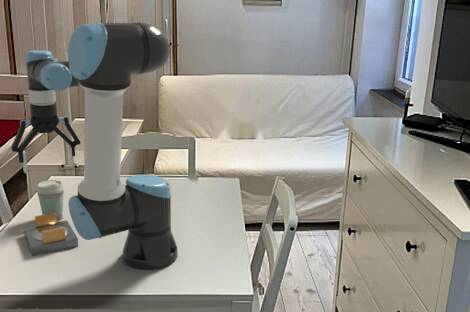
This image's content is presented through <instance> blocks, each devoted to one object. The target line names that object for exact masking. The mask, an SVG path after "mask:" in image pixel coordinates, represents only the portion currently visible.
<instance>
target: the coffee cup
mask: <svg viewBox="0 0 470 312" xmlns="http://www.w3.org/2000/svg"><path fill="white" fill-rule="evenodd" d="M64 190H65V185H64V183H63V181H61V180H57V179H48V180H43V181H40V182H39V183H37V187H36V193H37V197H38V201H39V204H40V210H41V215H45V214H51V213H56V216H57V222H60V221H61V220H62V219H63V215H64V214H63V213H64V192H65V191H64Z"/></svg>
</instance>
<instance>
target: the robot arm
mask: <svg viewBox="0 0 470 312" xmlns="http://www.w3.org/2000/svg"><path fill="white" fill-rule="evenodd" d="M170 52H171V47H170V44H169V41H168V38H167V37H166V35H165V34H164V32H162V31H161V29H159V28H157V27H156V26H154V25H152V24H150V23H145V22H99V21H98V22H94V23H87V24H86V23H83V24H80V25H78V26H77V27H76V28H75V29H74V30H73V32H72V34H71V35H70V39H69V42H68V48H67V60H65V61H64V60H63V61H54V56H53V52H51V51H50V50H44V49H42V50H40V49H39V50H38V49H37V50H30V51H29V50H28V51H26V52H25V66H26V76H27V84H28V85H27V86H28V96H29V97H28V98H29V102H30V105H29V108H30V119H28V120H27V119H23V118H21V119H20V120H19V128H18V130H17V132H16V135H15V137H14V139H13V141H12V145H11V147H10V149H11V151H12V153H13V152H15V153H17V155H18V156H17V157H18V162H19V163H20V164H22V169H23V173H24V174H28V164H27V163H28V162H27V153H26V148H27V147H28V146H29V145H30V143H31V142H32V141H33V139H34V138H35V137H36V136H37V135H38V134H41V135H42V134H46V133H48V134H50V133H52V132H55V133H56V134H57V135H59V137H60V138H62V139H63V140H64V141H65V142H66V143H67V144H68V145H67V159H68V160H67V164H68V166H69V168H73V166H74V164H73V157H75V156H76V146H78V145H81V144H82V143H81V140H80V138H79V137H78V135H77V134H76V132H75V131H74V129H73V128H72V126H71V124H70V121H69V118H68V116H66V115H63V116H62V117H58V110H57V109H58V107H57V103H56V101H57V97H56V94H57V93H56V92H63V91H64V90H66V89H68V88H79V87H81V88H82V89H83V90H84V146H83V151H84V152H83V153H84V158H83V159H84V161H83V163H84V164H83V172H84V173H83V178H84V179H83V180H82V181H80V183H78V185H77V195H73V196H71V197H69V200H68V210H69V211H68V212H69V214H70V218H71V221H72V224H73V226H74V228H75V230H76V232H77V234H78V235H79V236H80V237H81V238H82V239H83V240H86V241H91V240H96V239H102V238H104V237H108V236H111V235H114V234H115V235H116V234H119V233H121V232H126V231H128V233H127V235H126V239H125V242H124V246H123V249H122V260H123V261H124V263H125V264H126V265H128V266H130V267H132V268H135V269H139V270H155V269H156V270H157V269H161V268H165V267H167V266H169V265H171V264H173V263H174V262H175V261H176V260H177V259H178V255H179V254H178V245H177V242H176V240H175V238H174V234H173V232H172V216H171V215H172V211H171V207H172V205H171V204H172V200H171V199H172V194H171V193H172V192H171V191H172V190H171V185H170V183H169V181H168V180H167V179H165V178H163V177H160V176H158V175H157V176H156V175H151V174H134V175H130V176H128V177H127V178H126V181H125V183H124V182H122V181H121V163H122V162H121V160H122V159H121V158H122V140H123V139H122V138H123V137H122V136H123V115H124V113H123V112H124V111H123V110H124V95H125V94H124V93H125V92H126V91H127V90H129V89H130V88H131V85H132V84H131V80H132V77H133V76H135V75H146V74H151V73H154V72H157V71H158V70H161V69H162V68H163V67H164V66H165V65H166V64H167V62H168V60H169V58H170ZM60 123H61V124H62V125H64V126H65V128H66V129H67V131H68V133H69V134H70V136H71V137H72V139H73V141H72V140H71V139H70V138H69V137H68V136H67V135H66V134H64V132H63V131H61V130H60V128H58V127H57V126H58V125H59V124H60ZM29 125H30V126H31V127H32V128H31V130H30V131H29V133H28V134H27V136H26V137H25V138H24V139H23V136H24V134H25V132H26V128H28V127H29ZM22 139H23V140H22ZM21 140H22V142H21ZM20 142H21V144H20Z"/></svg>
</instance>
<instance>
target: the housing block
mask: <svg viewBox="0 0 470 312" xmlns="http://www.w3.org/2000/svg"><path fill="white" fill-rule="evenodd" d="M34 221H35V225H34V226H29V227H23V232H24V238H25V241H26V242H27V246H28V247H29V250H30V253H31V255H32V256H38V255H42V254H48V253H53V252H58V251H62V250H66V249H71V248H76V247H77V248H78V247H79V237H78V236H77V234H76V233H75V231H74V229H73V228H72V226H71V224H70V223H69V221H68V220H62V221H61V220H59V221H57V216H56V213H51V214H45V215H42V214H40V215H39V214H38V215H36V216H34Z"/></svg>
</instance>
